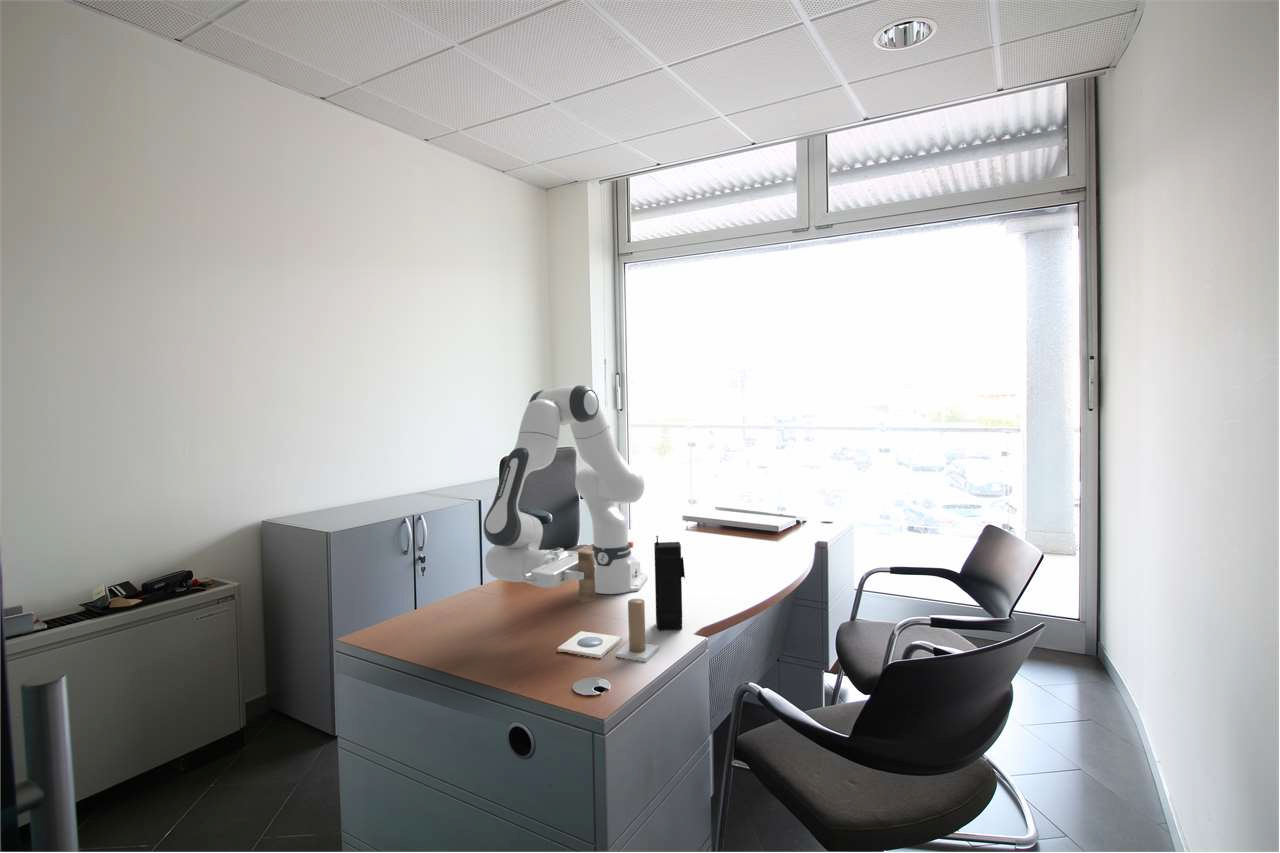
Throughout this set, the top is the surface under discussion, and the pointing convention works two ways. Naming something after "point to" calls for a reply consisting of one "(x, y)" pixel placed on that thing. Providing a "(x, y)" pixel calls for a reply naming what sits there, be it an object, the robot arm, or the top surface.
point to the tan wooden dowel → (637, 634)
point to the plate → (590, 643)
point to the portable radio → (668, 585)
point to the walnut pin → (587, 576)
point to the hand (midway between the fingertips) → (589, 572)
